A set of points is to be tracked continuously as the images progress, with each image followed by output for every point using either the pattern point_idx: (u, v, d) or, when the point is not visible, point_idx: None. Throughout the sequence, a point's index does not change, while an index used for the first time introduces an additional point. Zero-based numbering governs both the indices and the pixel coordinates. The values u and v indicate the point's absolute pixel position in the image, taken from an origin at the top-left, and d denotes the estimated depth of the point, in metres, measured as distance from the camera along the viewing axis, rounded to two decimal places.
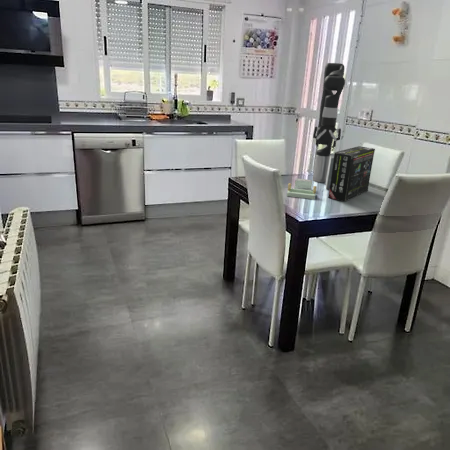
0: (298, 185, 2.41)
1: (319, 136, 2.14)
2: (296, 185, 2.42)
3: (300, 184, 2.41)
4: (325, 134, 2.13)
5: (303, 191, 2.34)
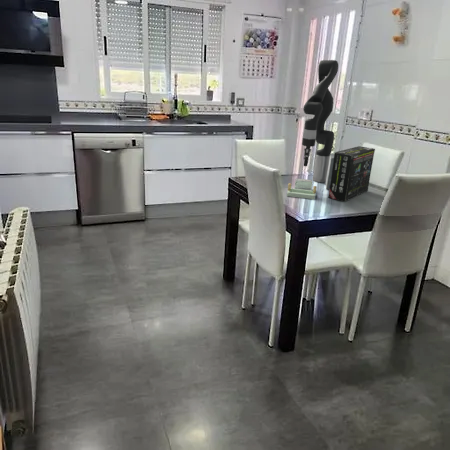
0: (298, 185, 2.41)
1: (308, 156, 2.33)
2: (297, 185, 2.41)
3: (300, 184, 2.41)
4: None
5: (303, 191, 2.34)
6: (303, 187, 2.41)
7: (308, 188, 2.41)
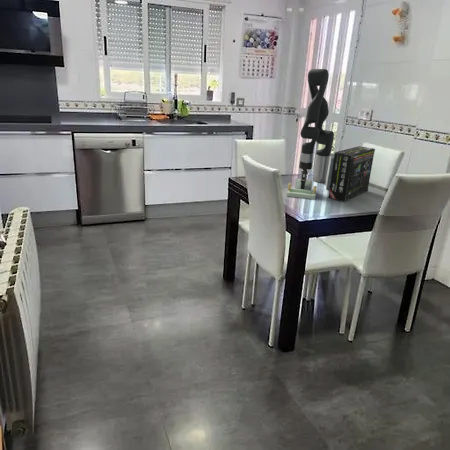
0: (298, 185, 2.41)
1: (305, 180, 2.39)
2: (297, 185, 2.41)
3: (300, 184, 2.41)
4: None
5: (303, 191, 2.34)
6: None
7: (308, 188, 2.41)
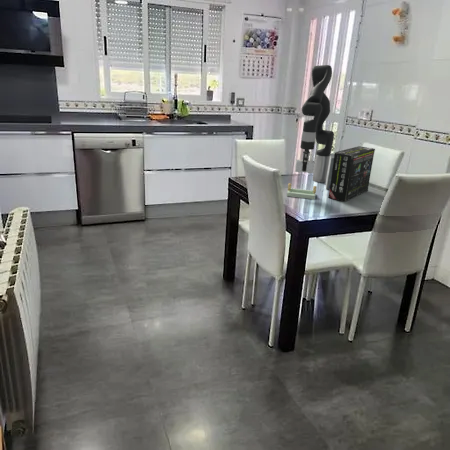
0: (300, 167, 2.24)
1: (307, 161, 2.22)
2: (298, 167, 2.24)
3: (301, 165, 2.23)
4: None
5: (303, 191, 2.34)
6: None
7: (310, 169, 2.23)
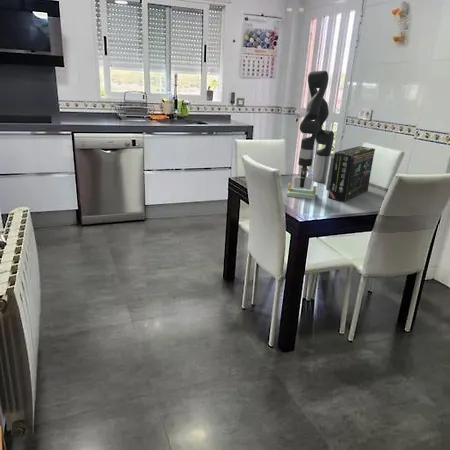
0: (297, 183, 2.27)
1: (305, 177, 2.25)
2: (296, 183, 2.27)
3: (299, 181, 2.26)
4: None
5: (303, 191, 2.34)
6: None
7: (308, 186, 2.27)
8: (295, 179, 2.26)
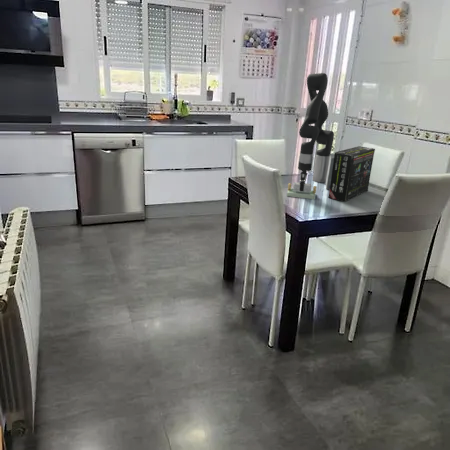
0: (297, 190, 2.29)
1: (304, 181, 2.25)
2: (295, 190, 2.29)
3: (298, 188, 2.28)
4: None
5: None
6: (302, 191, 2.29)
7: (307, 192, 2.28)
8: (294, 186, 2.28)
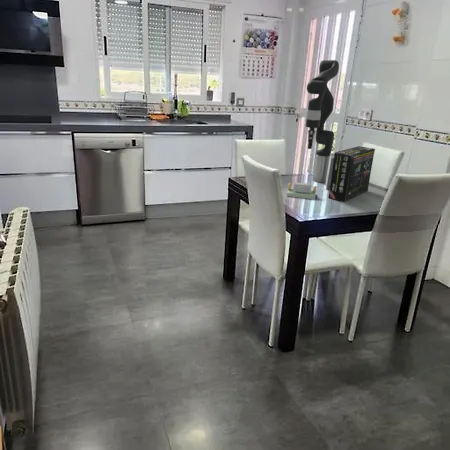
0: (297, 190, 2.29)
1: (312, 139, 2.22)
2: (295, 190, 2.29)
3: (298, 188, 2.28)
4: (313, 135, 2.24)
5: None
6: (302, 191, 2.29)
7: (307, 192, 2.28)
8: (294, 186, 2.28)
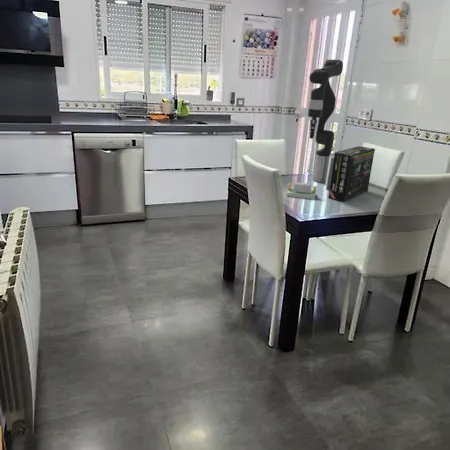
0: (297, 190, 2.29)
1: (314, 128, 2.23)
2: (295, 190, 2.29)
3: (298, 188, 2.28)
4: None
5: None
6: (302, 191, 2.29)
7: (307, 192, 2.28)
8: (294, 186, 2.28)
